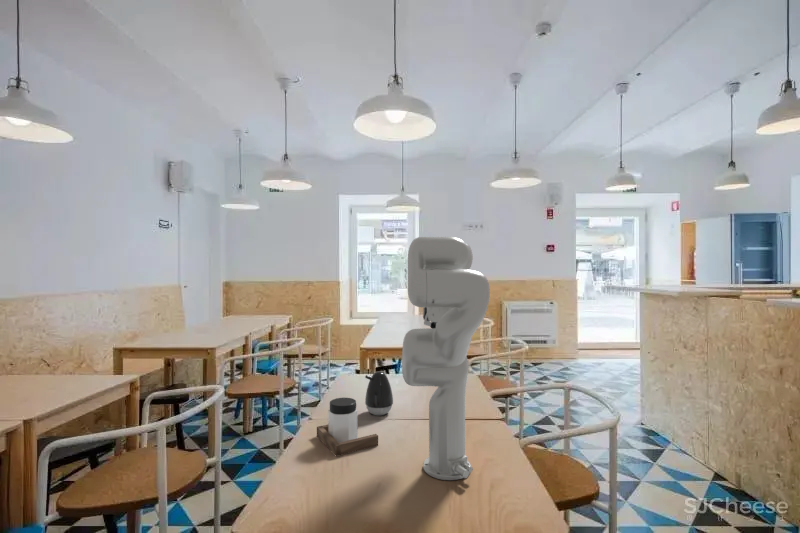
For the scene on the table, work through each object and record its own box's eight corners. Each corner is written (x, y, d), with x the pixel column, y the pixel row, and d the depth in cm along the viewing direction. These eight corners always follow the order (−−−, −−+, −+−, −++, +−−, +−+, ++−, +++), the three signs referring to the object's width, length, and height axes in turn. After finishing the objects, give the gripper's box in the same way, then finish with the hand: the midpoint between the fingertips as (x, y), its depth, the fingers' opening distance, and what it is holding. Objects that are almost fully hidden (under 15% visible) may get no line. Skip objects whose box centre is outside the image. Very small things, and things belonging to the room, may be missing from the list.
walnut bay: (378, 445, 124) (378, 435, 124) (336, 456, 117) (336, 445, 117) (355, 427, 138) (355, 418, 138) (316, 436, 131) (316, 426, 131)
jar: (361, 442, 126) (361, 403, 126) (336, 448, 122) (335, 408, 122) (349, 432, 134) (349, 395, 134) (325, 437, 130) (325, 399, 129)
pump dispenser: (360, 410, 154) (360, 369, 153) (386, 406, 158) (386, 366, 158) (370, 420, 144) (370, 376, 144) (397, 415, 149) (397, 373, 149)
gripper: (426, 287, 126) (426, 347, 126) (464, 285, 133) (464, 342, 133) (412, 286, 132) (412, 343, 132) (449, 284, 140) (449, 338, 140)
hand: (438, 342), depth 133 cm, fingers closed
